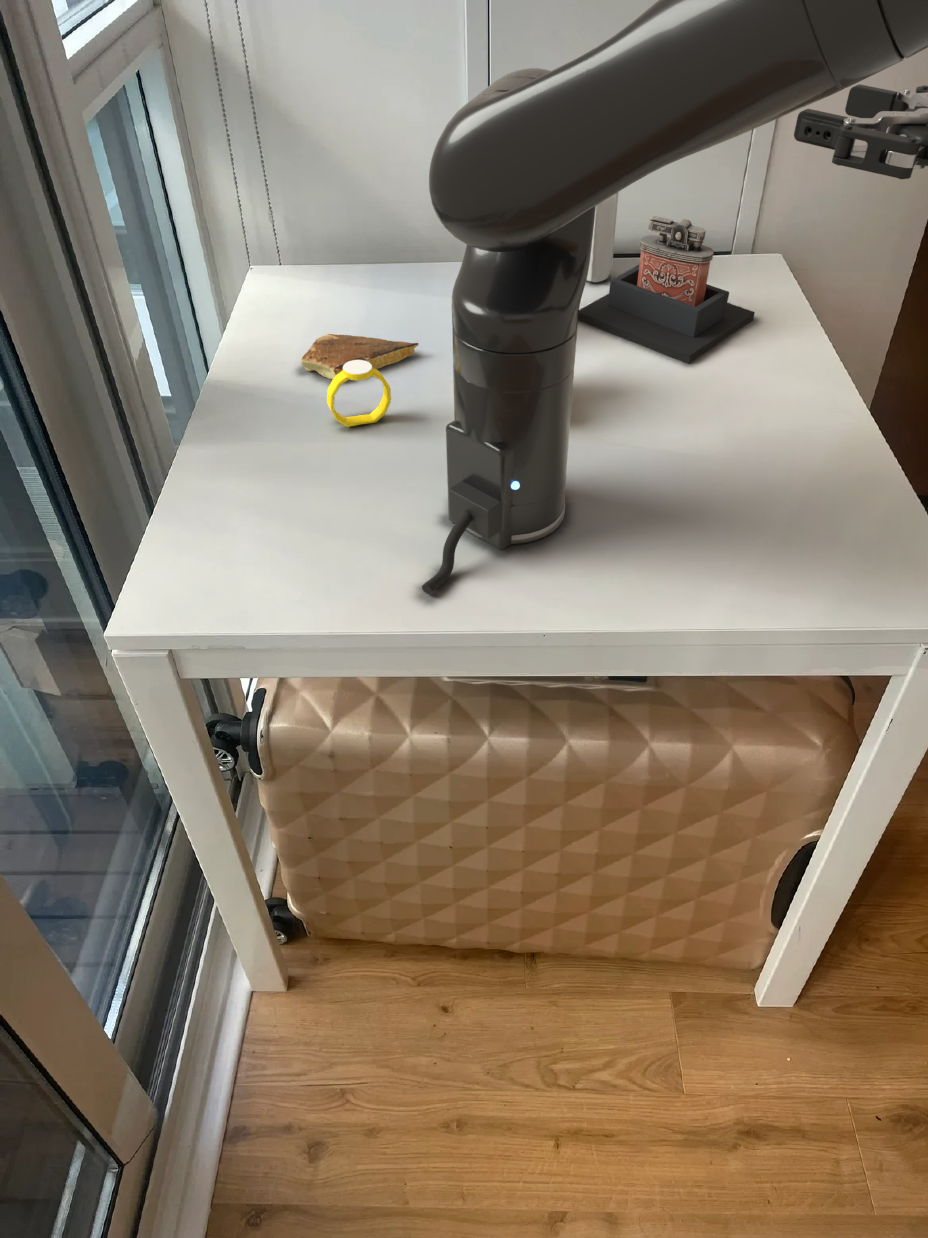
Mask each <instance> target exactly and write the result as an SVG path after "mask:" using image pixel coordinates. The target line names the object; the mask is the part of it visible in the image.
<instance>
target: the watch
mask: <svg viewBox="0 0 928 1238" xmlns="http://www.w3.org/2000/svg"><path fill="white" fill-rule="evenodd" d="M371 377H374V378H375V379H377V380H380V382H381V383H382V390H383V391H382V392H383V395H382V397H381V399H380V402H379V405H378V406H376V408H375V409H373V410H372V411H371V412H370V413H367V414H360V415H359V414H358V415H352V416H344V415H342V414H340V413H339V412H337V410H336V409H335V397H336V394H337V392H338V391H339V389H340V387H341V386H342V385H343V384H344V383H346V382H347V381H349V380H351V381H363V380H364V381H365V380H367V379H370V378H371ZM391 400H392V392H391V386H390V385H389V382H387V380H386V379H385V377H384V375H383V374H382V373H381V371H379V370H378V369H374V368H373V367H372V365H371V364H370V363H369V362H367V361H364V360H352V361H349V362H347V363H345V364H344V365H343V371H341V372H340V373H339V374H337V375H336V376H335V377H334V378H333V379H331V382H330V383H329V386H328V387H327V390H326V403H327V406H328V408H329V410H330V412H331V414H332V415H333V417H334V419H335V421H336V422H338V423H340V424H341V425H343V426H344V427H346V428H350V427H355V426H361V425H366V424H367V425H368V424H375V423H377V422H378V421H379V420H381V418H383V417H384V415H386V414H387V412H388V410H389V408H390V404H391V402H392V401H391Z"/></svg>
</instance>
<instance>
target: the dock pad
mask: <svg viewBox="0 0 928 1238" xmlns="http://www.w3.org/2000/svg"><path fill="white" fill-rule="evenodd" d="M639 265H640V263H639V264H637V265H636V266H634V267H631V268H630V269H628V270H626V271H625V272H623V273H621V274H619V275H618V276H616V277H614V278H612V279H610V281H609V290H608V293H607V294H606V295H604V296H601V297H600V298H598V299H596V300H594V301H593V302H591V303H590V304H588V305H585V306H584V307H582V308H581V309H580V308H579V313H578V322H581V323H583V324H586V325H588V326H591V327H594V328H597V329H599V330H601V331H604V332H606V333H609V334H611V335H614V336H617V337H620V338H622V339H625V340H627V341H630V342H633V343H635V344H637V345H639V346H642V347H645V348H648V349H649V350H653V351H655V352H658V353H661V354H663V355H665V356H668V357H671V358H673V359H676V360H677V361H681V362H683V363H685V364H689V365H690V363H692V362H694V361H695V360H697V359H698V358H700V357H701V356H703V355H704V354H706V353H707V352H708V351H710V350H712V349H713V348H714V347H716V346H717V345H719V344H720V343H723V341H725V340H726V339H728V338H729V337H731V336H732V335H734V334H735V333H736V332H738V331H739V330H741V329H743V328H745V326H747V325H749V324H750V323H752V322H753V321H754V319H755V315H756V313H755V311H753V310H750V309H747V308H744V307H741V306H738V305H736V304H733V303H731V302H728V301H729V296H730V291H728V290H726V289H723V288H720V287H716V286H713V285H711V284H708V283H707V284H706V290H705V296H704V302H703V303H701V304H700V305H698V306H697V307H695V306H692V305H689V304H686V303H683V302H681V301H678V300H675V299H672V298H669V297H667V296H664V295H661V294H658V293H655V292H652V291H650V290H647V289H644V288H641V287H638V286H637V282H638V274H639Z"/></svg>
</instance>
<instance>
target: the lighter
mask: <svg viewBox="0 0 928 1238" xmlns="http://www.w3.org/2000/svg"><path fill="white" fill-rule="evenodd" d="M648 231H650V232H653V233H654V232H655V233H659V234H657V235H656V234H647V235H644V236H642V237H641V238H640V244H639V248H640V258H639V264H640V265H639V264H638V265H639V274H638V282H637V286H638V287H641V288H644V289H647V290H650V291H652V292H655V293H658V294H661V295H664V296H667V297H669V298H672V299H675V300H678V301H681V302H683V303H686V304H689V305H692V306H695V307H697V306H698V305H700V304H701V303H703V302H704V296H705V290H706V284H708V278H709V272H710V266H711V262H712V261H713V259H714V252H715V250H714V249H713V248H712V247H710V246H706V245H704V244H703V243H704V241H705V238H706V232H707V229H706V228H704V227H701V226H697V225H693V224H692V221H691V220H690V219H687V218H683V219H681V220H680V221H679V222H678V221H674V219H671V218H667V217H663V216H658V215H653V216H652V217H651V218H650V219H649V221H648Z"/></svg>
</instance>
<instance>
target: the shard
mask: <svg viewBox="0 0 928 1238" xmlns="http://www.w3.org/2000/svg"><path fill="white" fill-rule="evenodd" d="M418 346H419V342H408V341H395V340H388V339H383V338H377V337H367V336H363V335H362V336H361V335H350V334H335V333H328V334H325V335H321V336H320V337H318V338H317V339H315V341H314V342H313V343H312V345H311V346H310V347H309V348H308V350H307V351H306V353H304V355H303V356H302V357H301V361H300V362H301V363H300V365H302V366H303V367H304V370H305V371H307V372H312V371H315V372H317V373H318V374H319V375H321V376H322V377H324V378H327V379H329V380H333V378H334V377H335V376H336V375H337V374H339V373H340V372H341V371H343V365H344V364H345V363H347V362H349V361H352V360H364V361H367V362H369V363H370V364H371V365H372V367H373V368H374V369H376V370H378V369H381V368H383V367H386V366H389V365H393V364H396V363H398V362H401V361H402V360H404V359H405V358H408V357H411V356H414V354H415V352H416V351H415V349H416V348H417V347H418Z"/></svg>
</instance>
